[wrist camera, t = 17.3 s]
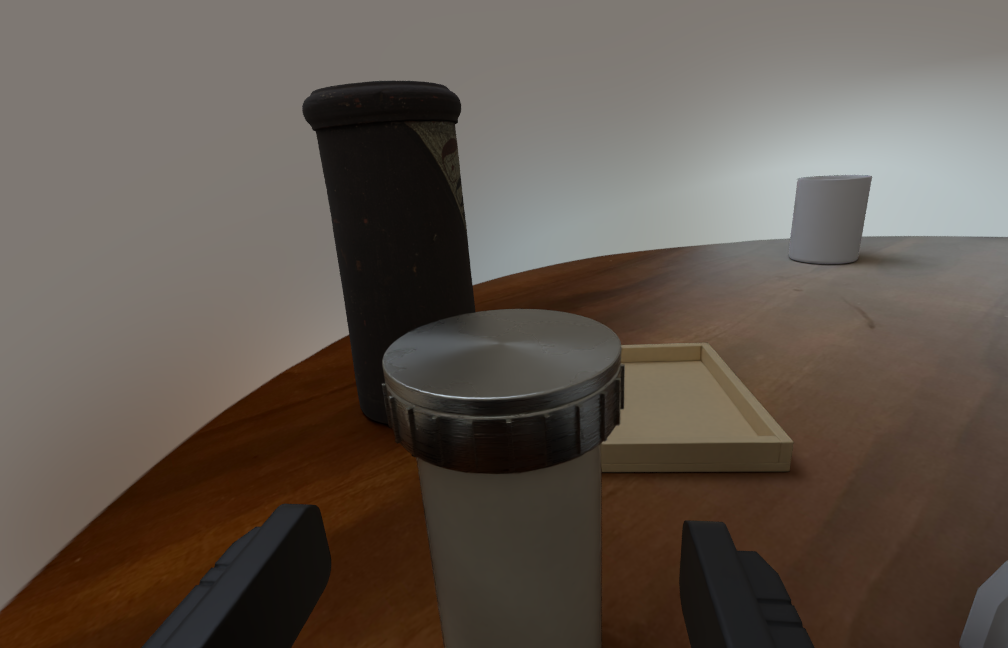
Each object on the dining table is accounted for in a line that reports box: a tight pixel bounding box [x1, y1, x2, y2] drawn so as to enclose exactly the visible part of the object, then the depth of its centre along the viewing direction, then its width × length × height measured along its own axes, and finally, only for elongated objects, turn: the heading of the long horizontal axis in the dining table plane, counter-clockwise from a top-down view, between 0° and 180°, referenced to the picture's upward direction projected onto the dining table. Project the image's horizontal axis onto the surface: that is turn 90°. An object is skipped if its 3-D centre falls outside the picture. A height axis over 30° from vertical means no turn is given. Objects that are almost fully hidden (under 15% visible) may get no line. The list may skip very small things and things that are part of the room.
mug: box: [788, 175, 872, 264], centre depth 65 cm, size 12×8×10 cm, turn 165°
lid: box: [382, 309, 625, 474], centre depth 13 cm, size 6×6×2 cm
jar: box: [416, 443, 602, 648], centre depth 14 cm, size 5×5×10 cm
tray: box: [602, 343, 793, 472], centre depth 30 cm, size 13×13×2 cm
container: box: [302, 81, 475, 424], centre depth 31 cm, size 9×9×20 cm
